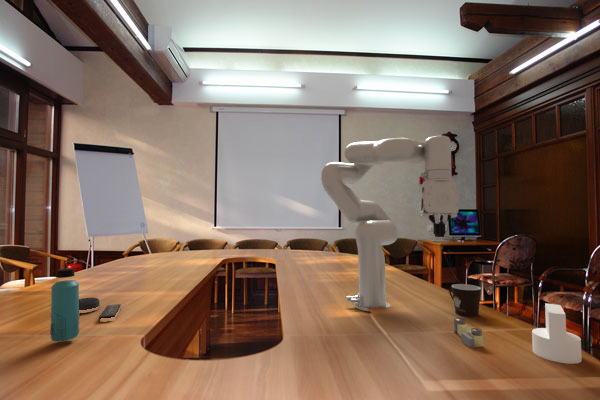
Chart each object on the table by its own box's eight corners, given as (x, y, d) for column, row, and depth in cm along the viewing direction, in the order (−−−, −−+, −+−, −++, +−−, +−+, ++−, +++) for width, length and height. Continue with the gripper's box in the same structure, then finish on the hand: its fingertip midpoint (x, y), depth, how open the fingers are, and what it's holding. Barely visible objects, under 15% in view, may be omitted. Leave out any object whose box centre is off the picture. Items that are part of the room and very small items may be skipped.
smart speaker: (89, 315, 115) (89, 303, 116) (63, 315, 116) (64, 303, 116) (104, 307, 124) (104, 297, 124) (81, 307, 124) (81, 297, 125)
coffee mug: (485, 323, 103) (484, 290, 104) (456, 321, 105) (455, 289, 105) (474, 312, 115) (473, 282, 115) (447, 310, 116) (446, 282, 117)
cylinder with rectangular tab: (585, 373, 71) (583, 316, 71) (534, 364, 76) (532, 310, 76) (578, 358, 78) (576, 306, 79) (531, 350, 83) (530, 301, 84)
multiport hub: (98, 324, 107) (98, 316, 107) (107, 311, 120) (107, 305, 120) (114, 322, 108) (114, 315, 108) (120, 310, 122) (121, 303, 122)
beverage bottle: (84, 339, 92) (86, 267, 93) (60, 349, 86) (62, 271, 87) (68, 337, 94) (69, 266, 95) (43, 346, 88) (44, 270, 89)
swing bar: (452, 330, 93) (452, 316, 93) (462, 330, 93) (462, 316, 93) (473, 347, 81) (473, 331, 82) (485, 347, 81) (484, 331, 82)
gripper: (418, 175, 98) (420, 237, 98) (468, 175, 99) (470, 237, 98) (409, 178, 106) (410, 236, 105) (456, 178, 106) (457, 235, 106)
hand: (439, 236), depth 102 cm, fingers closed
